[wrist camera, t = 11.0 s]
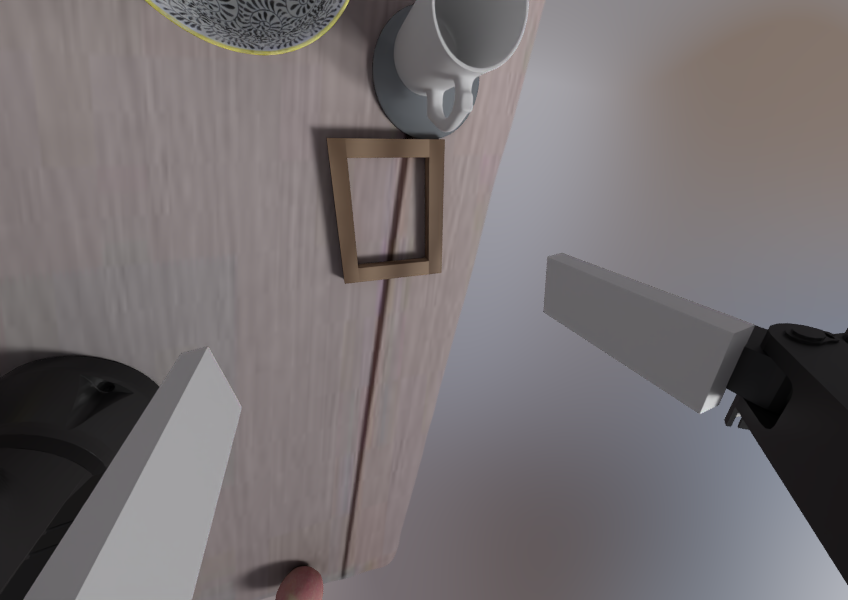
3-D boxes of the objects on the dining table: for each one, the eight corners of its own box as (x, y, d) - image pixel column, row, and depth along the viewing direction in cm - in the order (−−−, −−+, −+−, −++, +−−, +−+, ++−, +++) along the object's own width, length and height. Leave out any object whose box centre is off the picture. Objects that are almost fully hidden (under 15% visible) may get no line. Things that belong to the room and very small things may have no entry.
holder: (344, 279, 37) (344, 283, 35) (326, 138, 30) (326, 138, 29) (437, 268, 40) (441, 272, 39) (439, 140, 33) (444, 139, 32)
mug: (389, 5, 27) (434, -88, 17) (459, 18, 29) (538, -59, 18) (391, 134, 31) (427, 124, 21) (451, 138, 33) (512, 130, 23)
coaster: (376, 139, 31) (377, 139, 31) (367, -2, 27) (368, -5, 26) (472, 140, 34) (475, 140, 34) (480, 13, 30) (483, 11, 29)
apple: (322, 550, 57) (322, 604, 50) (323, 572, 60) (324, 626, 54) (276, 563, 55) (270, 622, 48) (279, 585, 58) (274, 643, 51)
